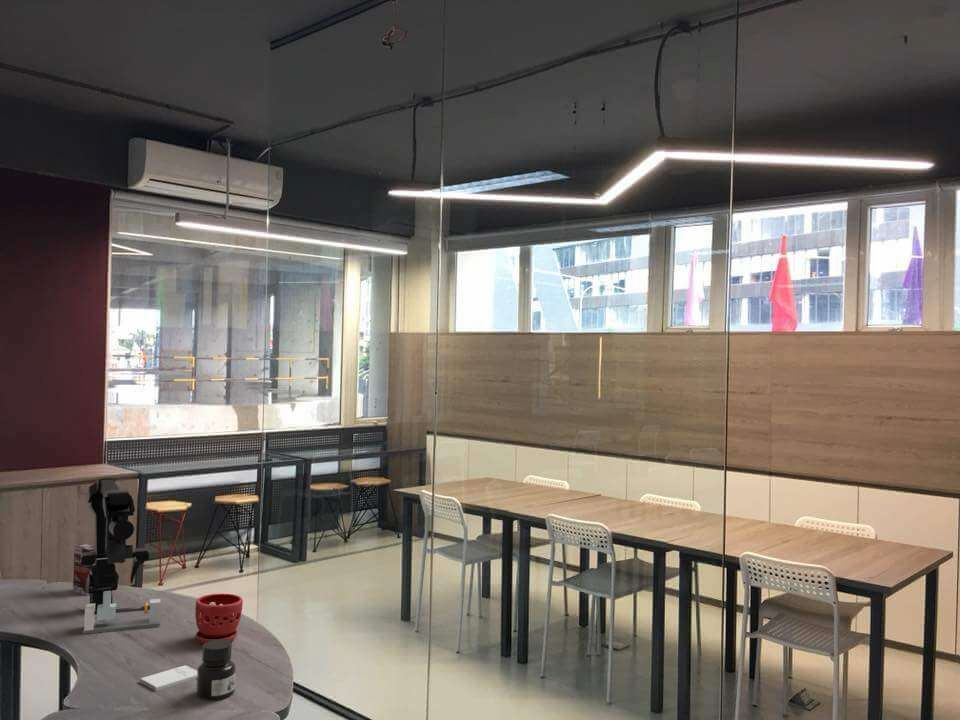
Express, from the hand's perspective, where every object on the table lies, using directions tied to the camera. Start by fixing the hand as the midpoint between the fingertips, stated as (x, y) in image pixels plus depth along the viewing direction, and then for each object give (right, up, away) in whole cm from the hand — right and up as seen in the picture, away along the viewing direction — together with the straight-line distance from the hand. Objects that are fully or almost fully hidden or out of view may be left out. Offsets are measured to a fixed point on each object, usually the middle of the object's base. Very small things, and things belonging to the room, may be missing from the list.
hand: (114, 584), depth 235 cm
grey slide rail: (+2, -13, +1) cm, 13 cm away
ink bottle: (+46, -14, -45) cm, 66 cm away
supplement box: (-26, -13, +35) cm, 45 cm away
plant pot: (+34, -14, -8) cm, 38 cm away
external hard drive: (+32, -14, -37) cm, 51 cm away
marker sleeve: (-2, -10, -1) cm, 10 cm away
